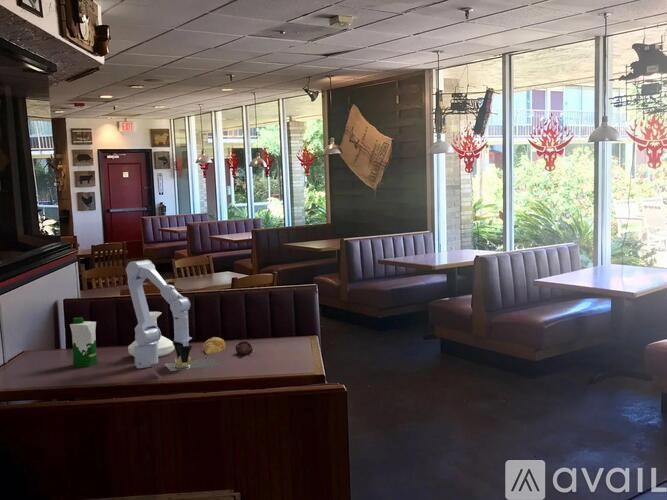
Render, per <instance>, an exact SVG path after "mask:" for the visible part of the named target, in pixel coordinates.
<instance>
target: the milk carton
mask: <svg viewBox="0 0 667 500" xmlns="http://www.w3.org/2000/svg"><path fill="white" fill-rule="evenodd" d="M69 327H70V330H71V340H72V367H78V368H79V367H80V368H81V367H82V368H83V367H91V366H94V365H95V364H97V363H98V357H97V356H98V355H97V341H96V340H97V339H96V329H97V328H96V327H97V321H90V320H89V321H87V320H86V321H84V317H81V316H80V317H73V322H72V323H70V324H69Z"/></svg>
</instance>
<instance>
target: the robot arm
mask: <svg viewBox="0 0 667 500" xmlns="http://www.w3.org/2000/svg"><path fill="white" fill-rule="evenodd" d="M125 273H126V276H127V285H128V290H129V293H130V297H131V301H132V304H133V310H134V313H135V316H136V319H137V325H136V326H135V327H134V332H135V333H134V334H135V335H134V339H135V340H134V341H136V342H137V343H138V346H135V347H134V357H133V358H134V366H135V368H137V369H145V368H152V367H153V365H155V364H158V363H159V357H158V346H157V343H158V340H160V338H161V336H162V332H161V330H160V328H159V327H158V323H157V324H156V323H155V322H154V321H152V320H151V316H150V313H149V312H150V310H149V305H148V302H147V297H146V294H145V291H144V287H143V283H144V282H145V280H146V279H148V280H149V281H151V282H152V283H153V284H154V286H156V287H157V288H158V289H159V290H160V295H161V297H162V298H163V299H164V300H165V301H166V302H167V303H168V304H169V309H170V311H171V313H172V317H173V330H174V331H173V333H174V338H173V341H172V342H173V345H174V347H175V349H174V350H175V354H176V357H179V356H181V361H182V363H187V362H188V357H189V356H190V352H191V350H192V347H193V345H192V344H191V345H190V344H189V342H190V340H192V339H193V337H191V336H190V334H189V330H190V329H189V327H190V326H189V310H190V309H191V301H190V299H189V297H186V296H183V295H182V294H180V292H178V291H177V289H176V287H175V286H174V285H172V284H167V282H166V281H165V280H164V278H163V277H162V276H161V275H160V273H159V272H158V271H157V270H156V266H155V264H154V263H153V262H152V261H151V260H149V259H144V260H137V261H130V262H128V264H127V266H126V268H125ZM145 328H148V329H145Z"/></svg>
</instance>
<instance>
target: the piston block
mask: <svg viewBox="0 0 667 500" xmlns="http://www.w3.org/2000/svg"><path fill="white" fill-rule="evenodd" d="M179 359H181V356H179ZM164 365H165V367H167V369H168V370H169V371H170V372H175V371H182V370H185V371H186V370H190V369H199V368H207V367H214V366H221V364H220V363H219V362H218V361H216V360H215V359H214V358H212V357H211V358H203V359H194V360H191V365H189V366H183V367H179V366H176V365H175V362H169V363H164Z"/></svg>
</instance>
